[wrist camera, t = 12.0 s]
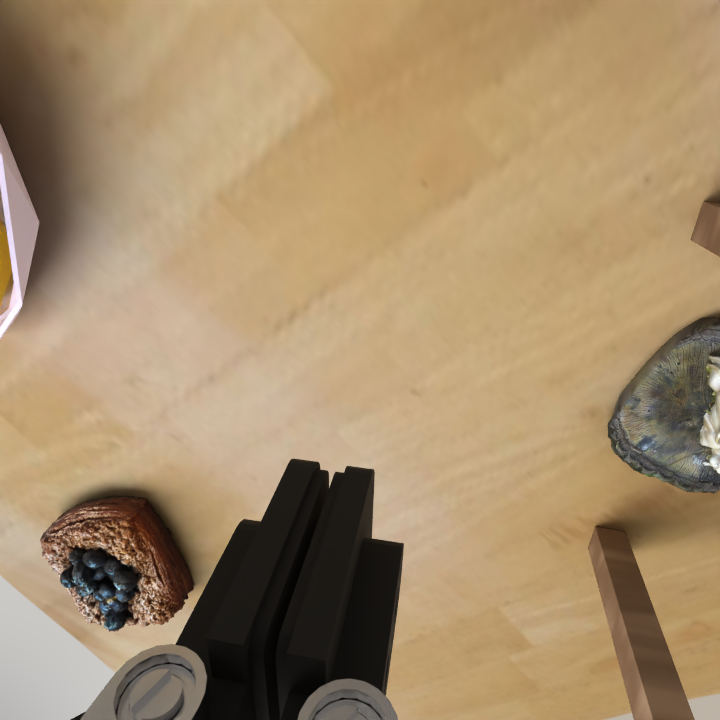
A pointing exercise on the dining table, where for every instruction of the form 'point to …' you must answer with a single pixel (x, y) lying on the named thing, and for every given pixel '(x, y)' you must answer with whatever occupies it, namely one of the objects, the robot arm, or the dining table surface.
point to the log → (674, 412)
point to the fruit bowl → (14, 236)
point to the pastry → (118, 562)
